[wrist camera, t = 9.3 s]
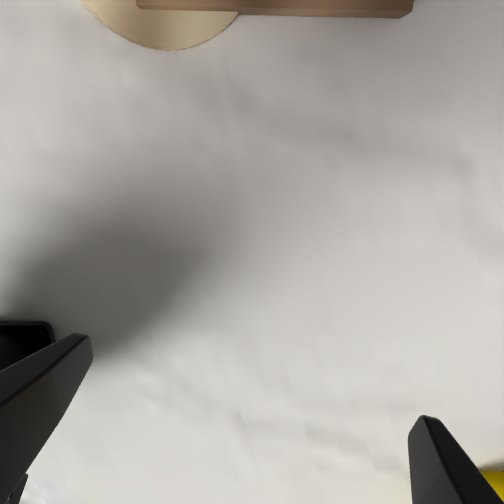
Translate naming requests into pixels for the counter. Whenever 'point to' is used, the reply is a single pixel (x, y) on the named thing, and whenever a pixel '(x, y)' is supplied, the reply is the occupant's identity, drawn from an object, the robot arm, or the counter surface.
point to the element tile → (495, 481)
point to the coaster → (160, 24)
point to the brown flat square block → (289, 7)
